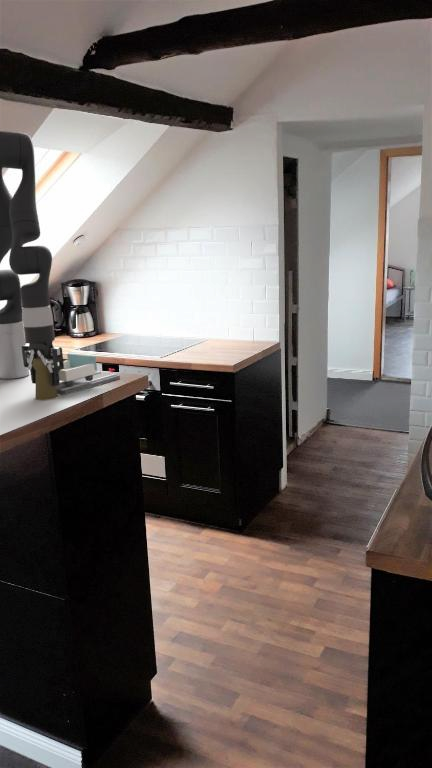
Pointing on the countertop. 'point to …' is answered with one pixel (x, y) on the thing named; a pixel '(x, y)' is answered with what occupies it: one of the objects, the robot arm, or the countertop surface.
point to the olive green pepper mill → (43, 381)
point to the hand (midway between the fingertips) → (45, 384)
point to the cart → (78, 368)
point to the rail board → (86, 383)
